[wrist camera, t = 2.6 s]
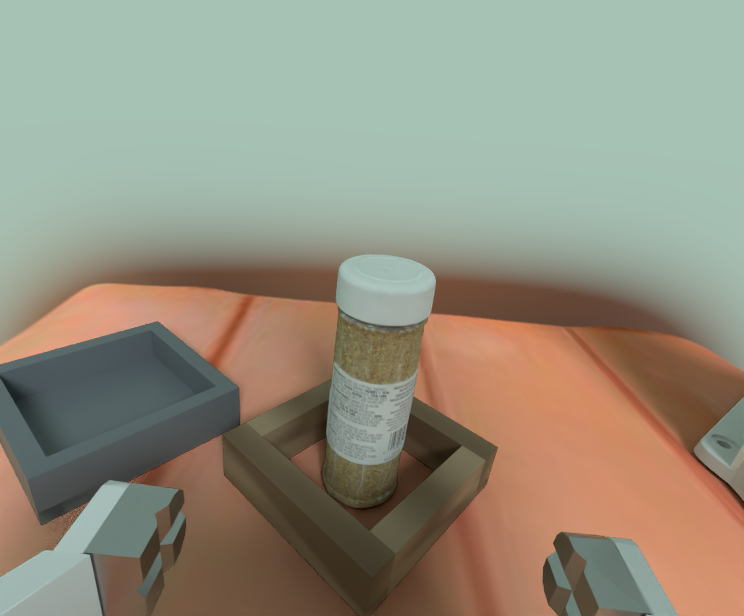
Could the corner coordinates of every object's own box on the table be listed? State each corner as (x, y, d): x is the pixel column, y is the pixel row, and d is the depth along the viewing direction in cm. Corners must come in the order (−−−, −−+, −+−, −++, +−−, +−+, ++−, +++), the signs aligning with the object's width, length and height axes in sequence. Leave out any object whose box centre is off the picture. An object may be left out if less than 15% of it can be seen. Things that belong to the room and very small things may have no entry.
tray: (161, 354, 35) (157, 321, 34) (240, 424, 29) (239, 387, 28) (-15, 412, 27) (-28, 372, 26) (41, 525, 21) (27, 480, 20)
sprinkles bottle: (359, 441, 29) (385, 245, 23) (412, 483, 26) (457, 274, 20) (304, 476, 26) (318, 260, 20) (358, 528, 23) (392, 296, 17)
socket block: (355, 398, 33) (360, 364, 32) (486, 484, 27) (497, 447, 25) (224, 474, 25) (222, 434, 24) (364, 621, 19) (372, 577, 18)
